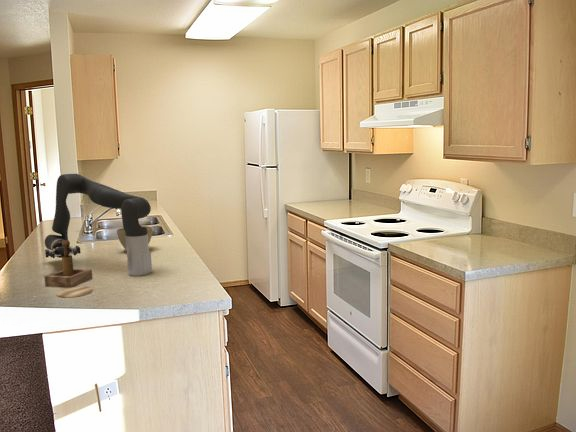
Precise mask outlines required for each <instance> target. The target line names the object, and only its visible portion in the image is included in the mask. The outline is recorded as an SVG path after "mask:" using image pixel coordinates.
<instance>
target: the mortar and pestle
mask: <svg viewBox="0 0 576 432" xmlns="http://www.w3.org/2000/svg"><path fill="white" fill-rule="evenodd" d="M70 243H71V241H70V240H69V239H68V240H63V241H62V245H63V247H64V254H65V256H63V257H62V258H61V260H62V270H63V273H64V275H63V276H72V275H74V271H73V269H74V263H73V261H74V260H73V254H72V255H69V250H68V247H69V246H71V244H70Z"/></svg>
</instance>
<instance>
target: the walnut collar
mask: <svg viewBox="0 0 576 432" xmlns="http://www.w3.org/2000/svg"><path fill="white" fill-rule="evenodd" d="M73 271H74V275H72V276H63V275H64V273H63V269H60V270H58V271H56V272H53V273H50V274H47V275H45V276H44V284H45V287H57V288H70V287H77V286H79V285H81V284H83V283H86V282H87V281H90V280H92V279H93V269H90V268H86V269H85V268H73Z"/></svg>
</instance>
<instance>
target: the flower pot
mask: <svg viewBox="0 0 576 432" xmlns="http://www.w3.org/2000/svg"><path fill="white" fill-rule="evenodd" d="M142 226H143V227H146V228H147V232H148V245H149V244H150V242H151V239H152V235H153V227H152V226H150V225H142ZM116 235H117V238H118V240H119V243H120V244H121V245H122V247H123V248H124V249H125V251H127V248H126V234H125V231H124V228H123V227H121V228H118V229H116Z"/></svg>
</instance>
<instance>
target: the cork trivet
mask: <svg viewBox="0 0 576 432" xmlns="http://www.w3.org/2000/svg"><path fill="white" fill-rule="evenodd" d="M92 291H93V292H94V288H93V287H91V286H87V285H84V286H83V285H82V286H79V285H77V286H74V287H65V288H63V289H60V290H58V291H57V292H56V296H57V297H58V296H59V297H58V298H67V299H68V298H69V299H70V298H77V297H78V298H79V297H84V296H86V295H89V294H91V293H92Z"/></svg>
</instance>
